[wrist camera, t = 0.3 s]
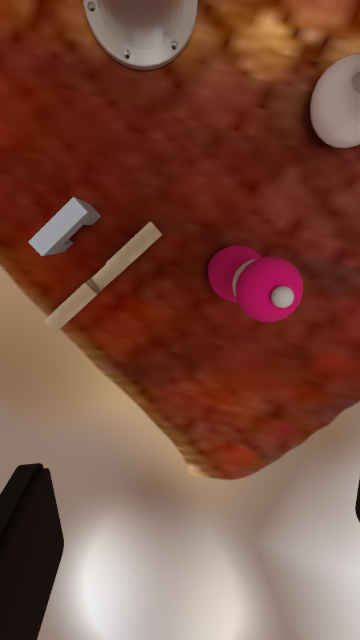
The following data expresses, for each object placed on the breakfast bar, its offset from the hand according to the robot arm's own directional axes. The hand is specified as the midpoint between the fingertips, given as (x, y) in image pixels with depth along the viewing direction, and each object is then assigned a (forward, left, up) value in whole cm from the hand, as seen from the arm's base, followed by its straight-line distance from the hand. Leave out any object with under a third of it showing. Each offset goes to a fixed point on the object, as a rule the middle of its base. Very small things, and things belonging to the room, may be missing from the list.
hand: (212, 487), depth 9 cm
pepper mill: (+4, +8, -36) cm, 37 cm away
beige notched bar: (-7, -5, -35) cm, 36 cm away
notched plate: (-14, -4, -35) cm, 38 cm away
